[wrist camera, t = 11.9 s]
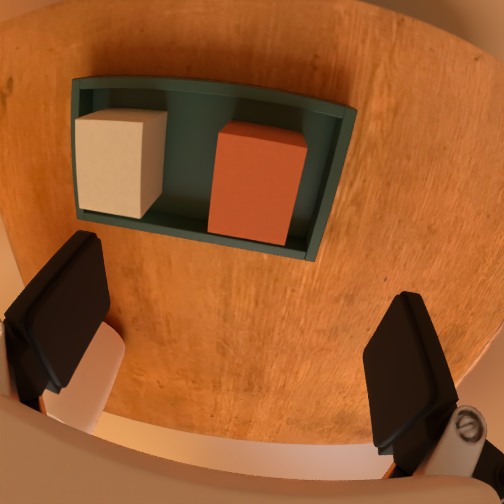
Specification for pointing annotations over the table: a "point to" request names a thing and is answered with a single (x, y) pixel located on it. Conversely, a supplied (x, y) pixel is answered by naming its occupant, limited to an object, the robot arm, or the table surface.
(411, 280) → the table surface
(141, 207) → the cream white rectangular block
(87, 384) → the cup
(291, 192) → the orange-red block
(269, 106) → the tray
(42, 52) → the table surface
